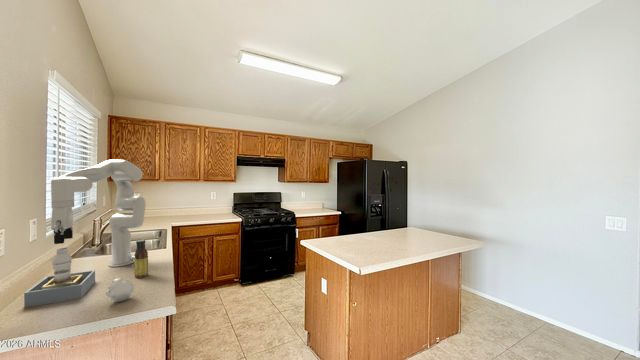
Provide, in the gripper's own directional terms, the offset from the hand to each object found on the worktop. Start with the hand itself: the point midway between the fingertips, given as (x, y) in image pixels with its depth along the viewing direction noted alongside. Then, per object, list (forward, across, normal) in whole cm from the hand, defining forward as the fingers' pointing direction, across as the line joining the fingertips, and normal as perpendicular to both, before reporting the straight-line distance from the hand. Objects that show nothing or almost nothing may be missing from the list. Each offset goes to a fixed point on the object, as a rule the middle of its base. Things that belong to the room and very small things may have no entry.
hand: (63, 240), depth 120 cm
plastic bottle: (+24, +1, 0) cm, 24 cm away
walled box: (+24, +1, 0) cm, 24 cm away
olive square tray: (+24, +1, 0) cm, 24 cm away
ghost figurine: (+24, +22, +25) cm, 41 cm away
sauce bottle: (+25, -7, +29) cm, 39 cm away
